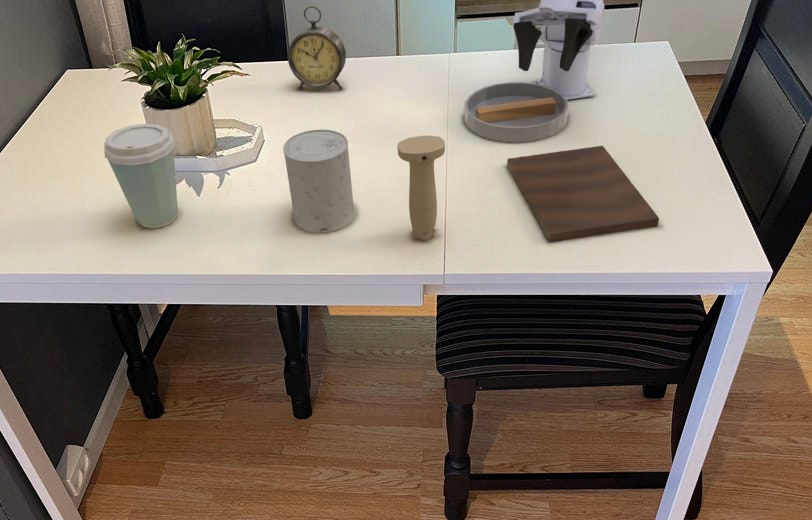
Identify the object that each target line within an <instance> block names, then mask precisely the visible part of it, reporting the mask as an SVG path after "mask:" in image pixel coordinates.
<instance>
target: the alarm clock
mask: <svg viewBox="0 0 812 520" xmlns="http://www.w3.org/2000/svg"><path fill="white" fill-rule="evenodd" d="M308 9H315V10H316V11H317V12H318V13H319V17H318V20H315V19H312V20H309V19H308V18H307V16H306V12H307V10H308ZM303 18H304V19H305V21H307V22H308V23H310V24H311V25H310V26H309V27H306V28H304V29H303V30H301V32H299V33H298V34H297V35H296V36H295V37H294V39H292V41H291V43H290V45H289V47H288V51H287V62H288V67H289V69H290V70H291V72H292V74H293V75H294V76H295V78H296V79H297V81H298V80H299V82H300V84H299V85H298V90H301V89H302V88H303V86H304V85H306V86H309V87H311V88H323V87H327V86H330V85H332V84H334V85H335V86H336V87H338V89H339V90H343V86H342V85H341V84H340V82H339V81H338V80H337V79H338V78H339V76H340V74H341V73H342V71H343V70H344V67H345V65H346V61H347V60H346V59H347V53H346V52H347V51H346V48H345V45H344V43H343V41H342V39H341V38H340V37H339V36H338V34H337V33H335V32H334V31H333V30H331V29H329V28H327V27H324V26H321V25H316V24H317V23H318V22H320V21H321V18H322V12H321V10H320V9H319V8H318V7H317V6H315V5H308V6H307V7H306V8H305V9H304V10H303Z"/></svg>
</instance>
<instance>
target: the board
mask: <svg viewBox="0 0 812 520" xmlns="http://www.w3.org/2000/svg"><path fill="white" fill-rule="evenodd" d="M506 167H507V170H508V171H509V173H510V175H511V177H512V178H513V180H514V182H515V184H516V186H517V187H518V189H519V191H520V192H521V194H522V196H523V198H524V199H525V201H526V203H527V205H528V207H529V209H530V210H531V212H532V214H533V216H534V218H535V219H536V221H537V223H538V224H539V226H540V228H541V230H542V232H543V234H544V235H545V237H546V239H547V241H548V243H553V242H559V241H567V240H574V239H580V238H587V237H595V236H600V235H601V236H602V235H610V234H615V233H623V232H631V231H636V230H643V229H651V228H657V227H658V226H659V222H660V217H659V216H658V215H657V214H656V212H655V211H654V209H653V208H652V207H651V206H650V204H649V203H648V202H647V200H646V199H645V198H644V196H642V194H641V193H640V191H639V190H638V189H637V187H636V186H635V185H634V184H633V182H632V181H631V179H630V178H628V176H627V175H626V174H625V172H624V171H623V170H622V168H621V167H620V166H619V165H618V163H617V162H616V161H615V160H614V158H613V157H612V155H611V154H610V153H609V152H608V150H607V149H606V148H605V146H604V145H597V146H596V145H595V146H590V147H583V148H576V149H575V148H574V149H568V150H562V151H561V150H559V151H554V152H547V153H546V152H545V153H539V154H532V155H525V156H517V157H510V158H509V157H508V158H507V160H506Z"/></svg>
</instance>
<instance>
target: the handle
mask: <svg viewBox="0 0 812 520" xmlns="http://www.w3.org/2000/svg"><path fill="white" fill-rule="evenodd" d="M445 151H446V142H445V140H444V139H443V137H441V136H438V135H437V136H436V135H417V136H411V137H406V138H405V139H402V140H400V141H399V142H398V143H397V156H398V157H399V158H400V159H401V161H405V162H408V163H409V165H408V166H409V187H408V188H409V189H408V210H409V219H410V223H411V229H412V233H413V238H414V239H416V240H422V241H423V242H424V241H425V242H426V241H429V239H431V238H434V236H435V235H436V228H435V227H436V223H437V218H438V217H437V215H438V199H437V197H438V196H437V189H436V188H437V187H436V177H435V176H436V175H435V161H436V160H437V159H439V158H441V157H443V156H444V154H445Z"/></svg>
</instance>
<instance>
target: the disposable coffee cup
mask: <svg viewBox="0 0 812 520" xmlns="http://www.w3.org/2000/svg"><path fill="white" fill-rule="evenodd" d="M103 144H104V145H103V147H104V148H103V153H104V158H105V159H107V161H108V163H109V165H110V167H111V170H112V171H113V174H114V176H115V178H116V181H117V182H118V184H119V186H120V187H119V188H120V189H121V191H122V193H123V195H124V197H125V199H126V202H127V203H128V206H129V208H130V210H131V212H132V214H133V216H134V219H135V221H137V223H138V224H139V225H140V226H142V227H143V228H146V229H159V228H164V227H166V226H168V225H171V224H172V223H174V221H175V220H176V219H177V217H178V213H179V208H178V195H177V194H178V193H177V191H178V190H177V178H176V163H175V151H174V150H175V149H174V148H175V147H176V140H175V136H174V134H173V132H172V131H171V130H169V128H166V127H165V126H162V125H161V124H156V123H155V124H154V123H139V124H132V125H128V126H125V127H122V128H119V129H116V130H114V131H113V132H111V134H109V135H108V136H106V138H105V142H104V143H103Z"/></svg>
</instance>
